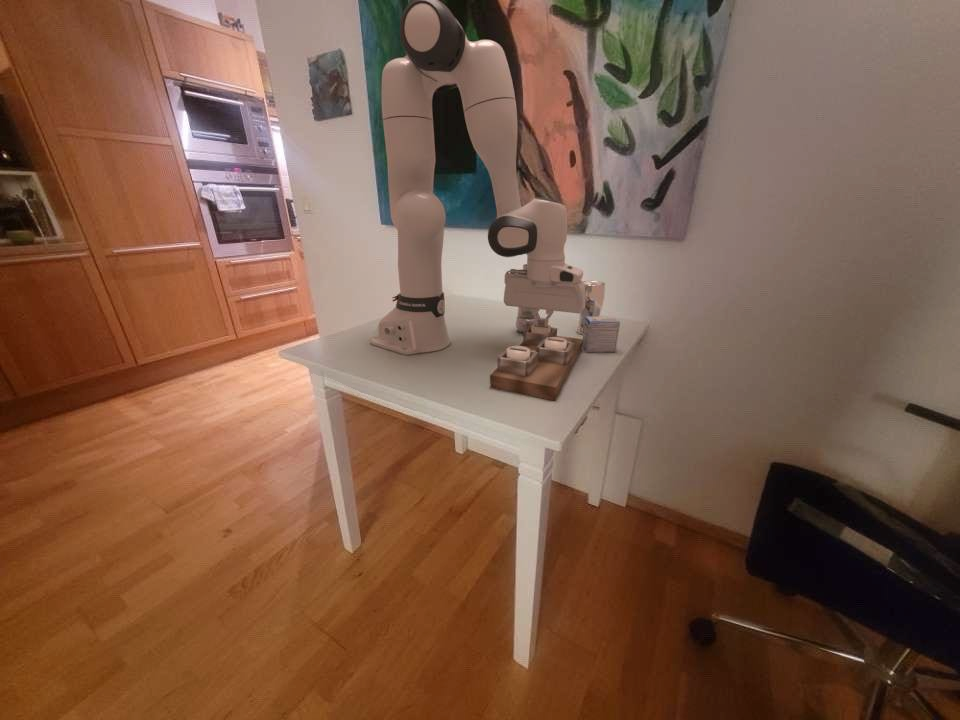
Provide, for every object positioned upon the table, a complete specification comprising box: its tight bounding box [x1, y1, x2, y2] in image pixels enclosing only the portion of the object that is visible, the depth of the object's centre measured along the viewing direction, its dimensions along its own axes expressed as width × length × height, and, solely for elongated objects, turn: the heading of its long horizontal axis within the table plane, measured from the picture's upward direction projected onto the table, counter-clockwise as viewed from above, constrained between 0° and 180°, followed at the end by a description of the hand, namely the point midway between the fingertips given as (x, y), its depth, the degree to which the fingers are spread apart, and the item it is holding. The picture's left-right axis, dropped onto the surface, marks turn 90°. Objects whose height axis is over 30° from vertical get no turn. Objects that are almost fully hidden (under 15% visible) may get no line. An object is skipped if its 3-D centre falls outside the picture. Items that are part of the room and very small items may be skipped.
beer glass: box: [576, 280, 606, 336], centre depth 108 cm, size 7×7×15 cm
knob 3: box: [544, 337, 567, 351], centre depth 85 cm, size 5×5×4 cm
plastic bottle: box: [515, 263, 536, 334], centre depth 107 cm, size 6×7×20 cm
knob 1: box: [506, 345, 530, 361], centre depth 79 cm, size 5×5×4 cm
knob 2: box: [531, 324, 552, 335], centre depth 94 cm, size 5×5×4 cm
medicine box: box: [582, 315, 621, 353], centre depth 96 cm, size 8×4×9 cm, turn 92°
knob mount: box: [489, 325, 583, 402], centre depth 87 cm, size 14×30×6 cm, turn 156°
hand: (541, 325), depth 93 cm, fingers closed, pressing on knob 2
